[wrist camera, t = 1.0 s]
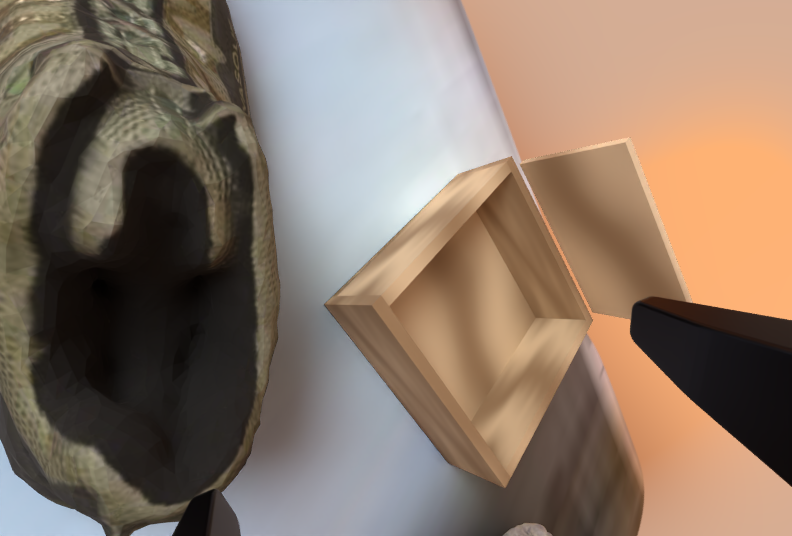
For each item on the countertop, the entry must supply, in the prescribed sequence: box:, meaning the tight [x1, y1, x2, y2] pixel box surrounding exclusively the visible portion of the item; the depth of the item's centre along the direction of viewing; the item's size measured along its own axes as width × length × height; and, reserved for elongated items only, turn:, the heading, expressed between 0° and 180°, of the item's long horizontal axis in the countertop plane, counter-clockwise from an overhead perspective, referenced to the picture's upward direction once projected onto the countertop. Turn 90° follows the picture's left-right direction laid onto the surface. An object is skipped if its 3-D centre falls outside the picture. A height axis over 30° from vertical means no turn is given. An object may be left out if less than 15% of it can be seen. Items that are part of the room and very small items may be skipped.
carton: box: [324, 156, 593, 488], centre depth 23 cm, size 12×12×4 cm
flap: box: [520, 137, 693, 319], centre depth 22 cm, size 6×11×1 cm
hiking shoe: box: [0, 0, 280, 536], centre depth 12 cm, size 8×21×9 cm, turn 8°
